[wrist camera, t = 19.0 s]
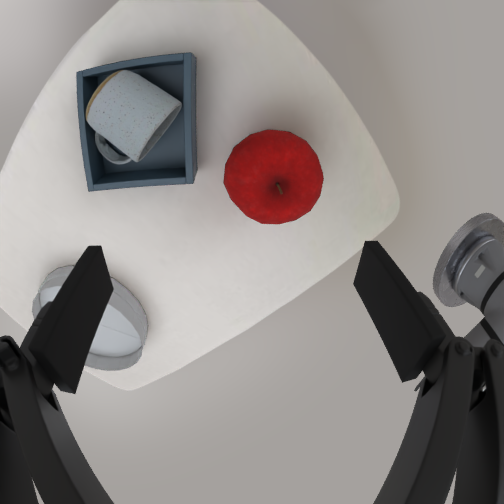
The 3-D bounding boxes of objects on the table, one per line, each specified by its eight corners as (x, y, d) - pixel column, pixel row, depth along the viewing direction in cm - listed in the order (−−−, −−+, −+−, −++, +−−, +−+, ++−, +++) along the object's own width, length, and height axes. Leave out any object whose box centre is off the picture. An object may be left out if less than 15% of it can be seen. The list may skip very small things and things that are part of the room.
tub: (196, 57, 25) (191, 52, 21) (197, 171, 33) (193, 183, 29) (94, 72, 24) (76, 72, 20) (103, 178, 32) (88, 191, 28)
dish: (162, 295, 43) (158, 318, 39) (136, 363, 53) (132, 382, 49) (42, 246, 36) (28, 264, 32) (44, 327, 46) (35, 344, 41)
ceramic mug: (132, 66, 24) (106, 63, 18) (188, 101, 27) (176, 106, 21) (88, 140, 28) (56, 158, 22) (138, 173, 31) (117, 198, 25)
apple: (318, 146, 33) (354, 172, 23) (279, 208, 37) (299, 254, 28) (247, 107, 29) (258, 116, 20) (210, 176, 33) (206, 214, 24)
